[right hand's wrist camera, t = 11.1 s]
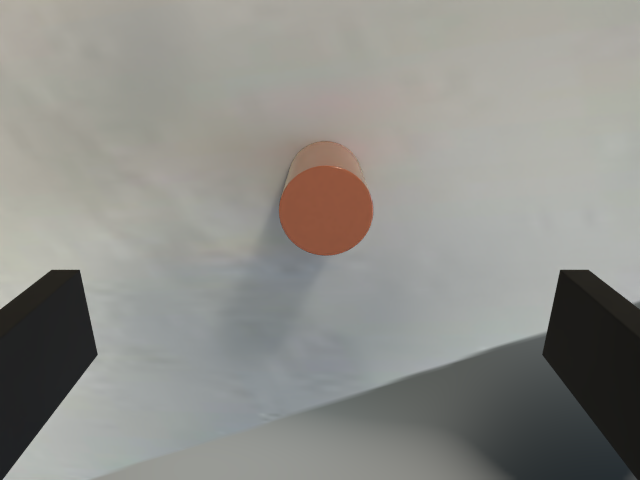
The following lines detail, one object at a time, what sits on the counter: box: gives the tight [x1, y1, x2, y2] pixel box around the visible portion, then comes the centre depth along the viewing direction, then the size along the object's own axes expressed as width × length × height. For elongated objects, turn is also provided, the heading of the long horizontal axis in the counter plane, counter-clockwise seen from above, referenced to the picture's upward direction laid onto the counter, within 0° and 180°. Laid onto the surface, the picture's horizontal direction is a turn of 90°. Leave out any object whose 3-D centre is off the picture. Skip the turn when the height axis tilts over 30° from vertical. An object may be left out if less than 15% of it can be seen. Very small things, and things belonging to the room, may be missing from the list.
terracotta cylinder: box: [279, 141, 373, 255], centre depth 25 cm, size 5×5×7 cm
